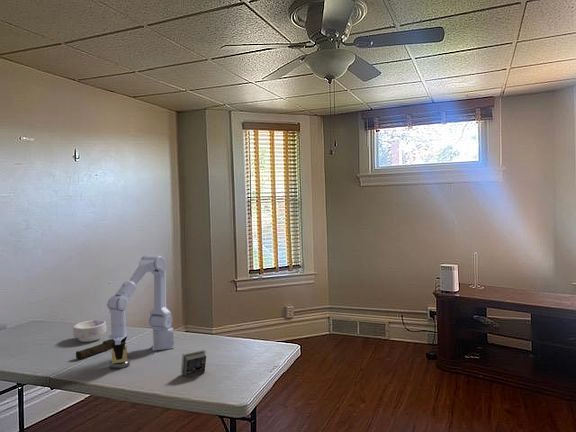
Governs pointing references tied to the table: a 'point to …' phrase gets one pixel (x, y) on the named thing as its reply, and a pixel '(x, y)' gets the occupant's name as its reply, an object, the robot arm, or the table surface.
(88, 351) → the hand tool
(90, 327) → the white bowl
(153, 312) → the robot arm
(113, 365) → the ratchet
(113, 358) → the socket
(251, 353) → the table surface
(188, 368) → the electrical switch
